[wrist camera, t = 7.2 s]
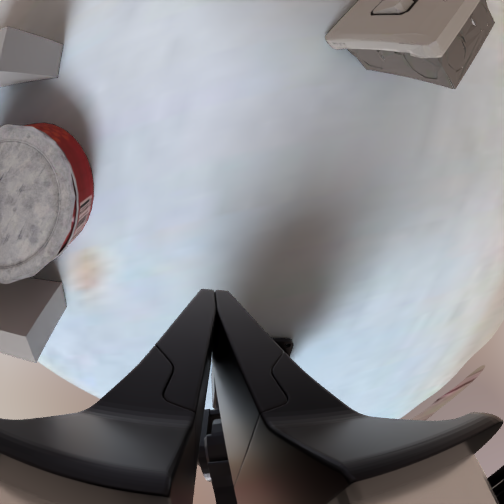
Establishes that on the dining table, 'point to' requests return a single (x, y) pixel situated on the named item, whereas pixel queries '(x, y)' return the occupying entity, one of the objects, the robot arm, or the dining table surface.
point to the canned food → (40, 196)
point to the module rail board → (29, 289)
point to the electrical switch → (415, 37)
